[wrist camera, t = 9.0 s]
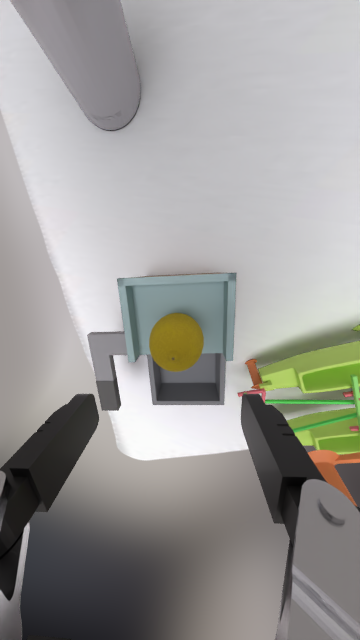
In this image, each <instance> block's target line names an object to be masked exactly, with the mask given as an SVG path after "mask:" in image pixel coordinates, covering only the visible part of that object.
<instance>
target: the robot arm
mask: <svg viewBox="0 0 360 640" xmlns="http://www.w3.org/2000/svg"><path fill="white" fill-rule="evenodd" d="M10 1H11V3H12V4H13V6H14V7H15V9H16V10H17V12H18V13H19V15H20V16H21V18H22V19H23V21H24V22H25V24H26V25H27V27H28V28H29V30H30V31H31V33H32V34H33V36H34V38H35V39H36V41H37V42H38V44H39V45H40V47H41V48H42V50H43V51H44V53H45V54H46V56H47V57H48V59H49V60H50V62H51V63H52V65H53V66H54V68H55V69H56V71H57V72H58V74H59V75H60V77H61V79H62V80H63V82H64V83H65V85H66V86H67V88H68V89H69V91H70V92H71V94H72V95H73V97H74V98H75V100H76V101H77V103H78V104H79V106H80V107H81V109H82V110H83V112H84V113H85V115H86V116H87V118H88V119H89V120H90V121H91V122H92V123H93V124H95V125H96V126H98V127H100V128H102V129H105V130H116V129H120V128H122V127H123V126H125V125H126V124H127V123H128V122H129V121H130V120H131V119H132V118H133V116H134V115H135V113H136V110H137V108H138V105H139V100H140V92H141V86H140V77H139V73H138V69H137V65H136V61H135V57H134V53H133V49H132V45H131V41H130V37H129V33H128V29H127V25H126V21H125V17H124V13H123V9H122V5H121V1H120V0H10ZM98 422H99V415H98V410H97V406H96V402H95V398H94V395H93V394H77V395H75V396H74V397H73V398H72V400H71V401H70V402H69V403H68V404H66V405H64V406H62V407H61V408H60V409H58V410H57V411H55V412H54V413H53V414H52V415H51V416H50V417H49V418H48V419H47V420H46V421H45V424H43V425H42V426H41V427H40V428H39V429H38V430H37V432H36V433H34V434H33V435H32V436H31V437H30V438H29V439H28V440H27V442H25V443H24V445H23V446H22V447H21V448H20V449H19V450H18V451H17V452H16V453H15V454H14V455H13V456H12V457H11V458H10V459H9V460H8V461H7V463H5V464H4V466H3V467H2V468H1V469H0V640H22V624H21V616H20V596H21V588H22V581H23V573H24V566H25V558H26V551H27V543H28V536H29V527H30V525H29V520H30V518H31V517H32V515H33V514H34V512H35V511H36V512H48V510H49V508H50V507H51V505H52V503H53V502H54V500H55V498H56V496H57V495H58V493H59V491H60V490H61V488H62V486H63V485H64V483H65V481H66V479H67V478H68V476H69V474H70V473H71V471H72V469H73V467H74V466H75V464H76V462H77V461H78V459H79V457H80V456H81V454H82V452H83V450H84V449H85V447H86V445H87V444H88V442H89V440H90V438H91V437H92V435H93V433H94V432H95V430H96V428H97V425H98ZM241 425H242V429H243V433H244V436H245V439H246V442H247V445H248V448H249V451H250V453H251V456H252V459H253V462H254V465H255V468H256V471H257V474H258V477H259V480H260V483H261V486H262V489H263V492H264V495H265V498H266V501H267V504H268V507H269V510H270V513H271V515H272V518H273V522H274V523H280V524H285V527H286V530H287V532H288V535H289V537H290V540H289V547H288V554H287V561H286V569H285V576H284V583H283V590H282V599H281V605H280V612H279V619H278V626H277V632H276V638H275V640H360V508H359V507H357V506H355V505H354V504H353V503H352V502H351V501H350V500H349V499H348V498H347V497H346V496H345V495H344V494H343V493H342V492H341V491H339V490H338V489H337V488H335V487H334V486H332V485H330V484H328V483H327V481H326V480H325V479H324V477H323V476H322V475H321V473H320V471H319V470H318V468H317V467H316V465H315V464H314V462H313V461H312V459H311V458H310V456H309V455H308V453H307V452H306V450H305V448H304V447H303V445H302V444H301V442H300V441H299V439H298V438H297V436H295V433H294V432H293V430H292V428H291V427H289V424H288V422H287V421H286V419H285V418H284V416H283V415H282V413H280V412H279V411H278V410H277V409H276V408H275V407H274V406H272V405H265V403H264V401H263V399H262V398H261V396H260V395H259V394H243V395H242V407H241ZM27 640H71V639H66V638H55V637H44V636H33V635H29V636H28V638H27Z"/></svg>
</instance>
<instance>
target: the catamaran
mask: <svg viewBox="0 0 360 640" xmlns="http://www.w3.org/2000/svg"><path fill="white" fill-rule="evenodd" d="M352 330H355V331H360V325H358V326H356V327H355V328H353V329H352ZM256 362H257V360H255V359H252V360H249V361H247V362H246V363H245V364H247V366H248V369H249V372H250V375H251V378H252V381H253V385H254V386H252V387H251V388H254V389H257V390H251V391H244V392H239V393H238V396H239V397H240V396H242V395H243V394H258V393H262V399H263V401H264V403H283V404H355V407H356V408H348V409H340V410H332V411H325V412H318V413H313V414H309V415H305V416H301V417H297V418H294V419H290V420H287V422H288V424H289V427H291V428H292V430H293V432H294V433H295V436H297V438H298V439H299V441H300V442H301V444H302V445H312V446H314V447H315V448H316V451H312V452H308V455H309V456H310V458H311V459H312V461H313V462H314V464H315V465H316V467H317V468H318V470H319V471H320V473H321V475H322V476H323V477H324V479H325V480H326V481H327V483H328V484H330V485H332V486H334V487H335V488H337V489H338V490H339V491H341V492H342V493H343V494H344V495H345V496H346V497H347V498H348V499H349V500H350V501H351V502H352V503H353V504H354V505H355V506H357V505H356V504H355V502H354V500H353V498H352V497H351V495H350V493H349V491H348V490H347V488H346V486H345V484H344V483H343V481H342V479H341V478H340V476H339V474H338V473H337V471H336V469H335V467H334V465H336V464H340V463H358V462H360V390H359V387H360V341H355V342H351V343H346V344H341V345H337V346H332V347H328V348H323V349H319V350H314V351H310V352H306V353H302V354H299V355H296V356H293V357H290V358H287V359H284V360H281V361H278V362H276V363H273V364H270V365H267V366H265V367H262V368H259V369H258V370H257V368H256V365H255V363H256ZM258 371H259V373H258ZM259 374H260V375H259ZM260 377H261V378H260ZM262 382H263V383H262ZM289 387H299V388H300V389H301V391H302V392H303V393H316V392H326V391H334V390H341V389H348V388H352V389H353V391H351V392H344V393H343V395H344V396H345V397H351V396H354V400H265V395H266V391H270V390H274V389H278V388H289ZM338 454H344V455H338Z"/></svg>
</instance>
